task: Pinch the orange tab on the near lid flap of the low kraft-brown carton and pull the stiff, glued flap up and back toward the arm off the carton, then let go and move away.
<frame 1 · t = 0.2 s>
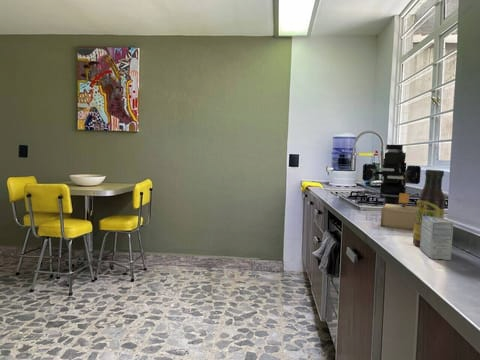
hand: (389, 175, 115), 17 cm above the worktop, tool horizontal, fingers open, 9 cm apart
medicine box: (434, 256, 82), on the worktop
pull flap: (403, 201, 120), point 8 cm above the worktop, slide at 0.0 cm
sauce bottle: (426, 247, 89), on the worktop
carton: (401, 224, 117), on the worktop
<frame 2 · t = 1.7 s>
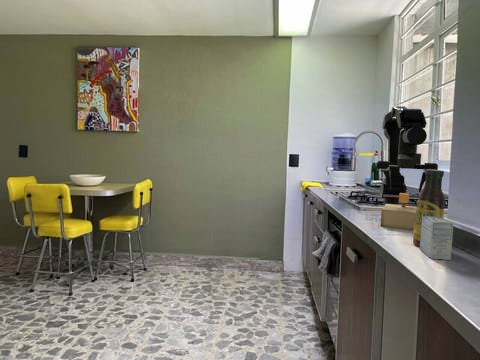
hand: (404, 191, 119), 11 cm above the worktop, tool pointing down, fingers open, 9 cm apart
nothing on the worktop moved.
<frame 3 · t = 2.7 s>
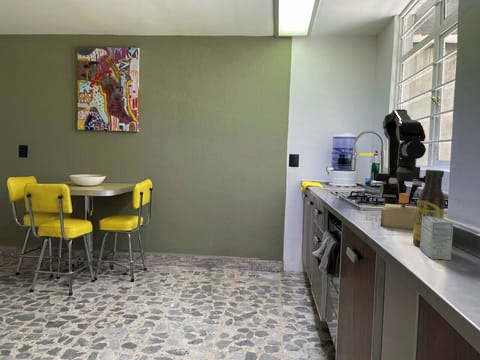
hand: (403, 203, 120), 7 cm above the worktop, tool pointing down, fingers closed on pull flap, 3 cm apart
pull flap: (403, 201, 120), point 8 cm above the worktop, slide at 0.0 cm, touching gripper
everything else where it was.
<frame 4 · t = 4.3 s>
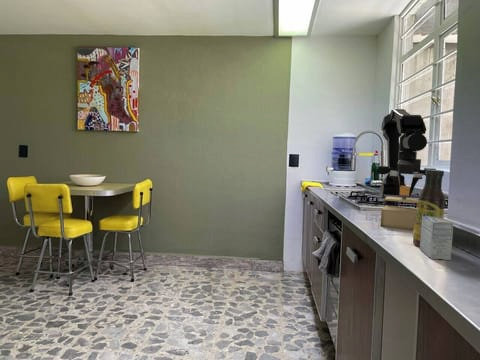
hand: (404, 196, 121), 9 cm above the worktop, tool pointing down, fingers closed on pull flap, 3 cm apart
pull flap: (404, 193, 121), point 10 cm above the worktop, slide at 2.9 cm, touching gripper
everything else where it was.
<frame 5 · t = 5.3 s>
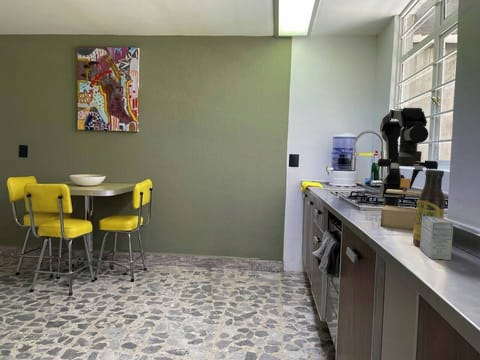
hand: (405, 188, 122), 12 cm above the worktop, tool pointing down, fingers closed on pull flap, 3 cm apart
pull flap: (405, 185, 122), point 13 cm above the worktop, slide at 5.9 cm, touching gripper
everything else where it was.
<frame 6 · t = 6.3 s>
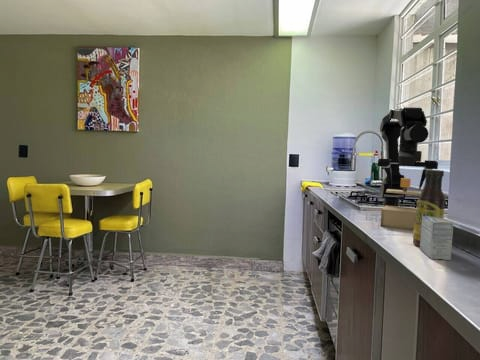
hand: (405, 188, 122), 12 cm above the worktop, tool pointing down, fingers open, 9 cm apart
pull flap: (405, 185, 122), point 13 cm above the worktop, slide at 5.9 cm
everything else where it was.
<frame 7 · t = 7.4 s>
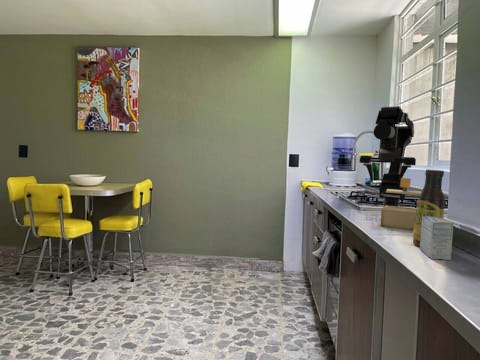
hand: (385, 183, 128), 13 cm above the worktop, tool pointing down, fingers open, 9 cm apart
nothing on the worktop moved.
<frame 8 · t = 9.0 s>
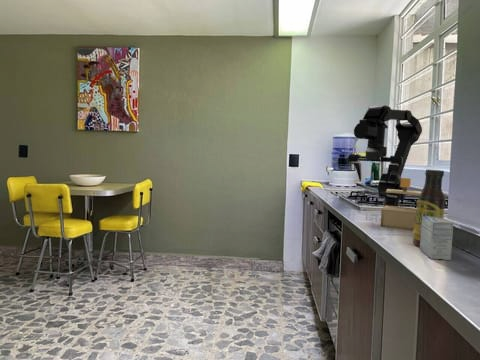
hand: (373, 182, 129), 13 cm above the worktop, tool pointing down, fingers open, 9 cm apart
nothing on the worktop moved.
at the end: pull flap slide at 5.9 cm; the gripper is holding nothing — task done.
